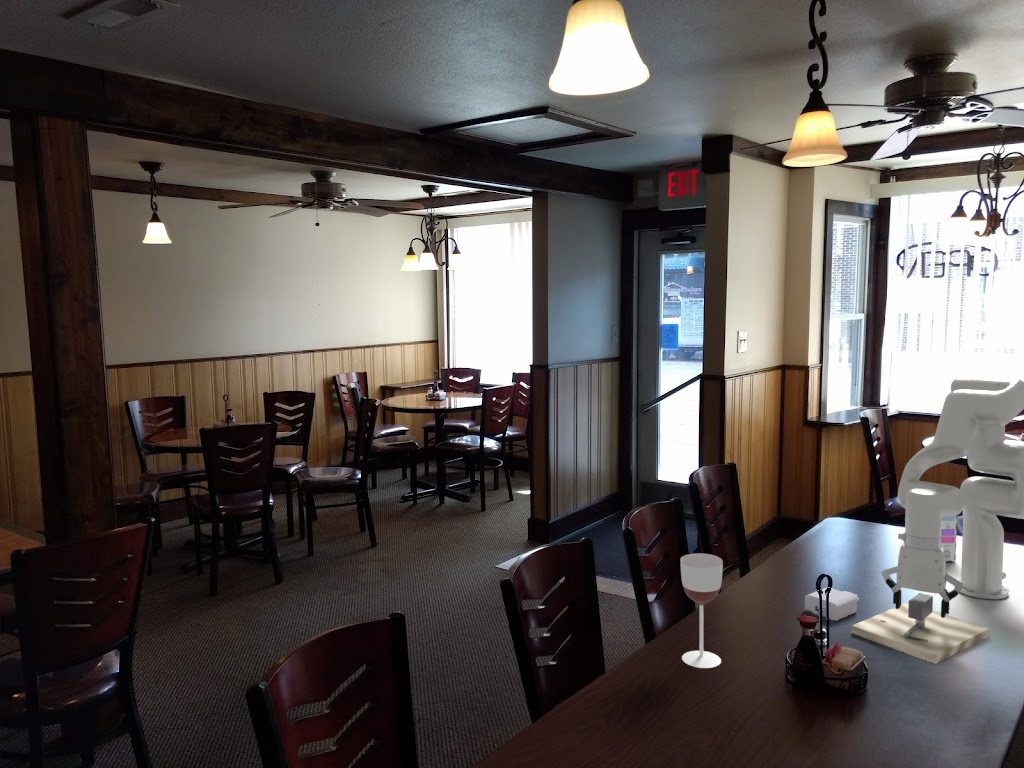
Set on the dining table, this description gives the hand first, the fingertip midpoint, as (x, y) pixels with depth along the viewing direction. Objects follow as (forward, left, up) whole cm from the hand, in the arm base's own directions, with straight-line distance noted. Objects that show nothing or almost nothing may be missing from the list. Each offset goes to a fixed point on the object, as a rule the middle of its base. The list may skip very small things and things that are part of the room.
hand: (920, 611), depth 183 cm
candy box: (-60, -28, -6) cm, 67 cm away
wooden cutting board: (0, 0, -6) cm, 6 cm away
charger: (+1, -21, -6) cm, 22 cm away
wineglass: (+51, -22, -6) cm, 56 cm away
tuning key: (+3, 0, -4) cm, 5 cm away
